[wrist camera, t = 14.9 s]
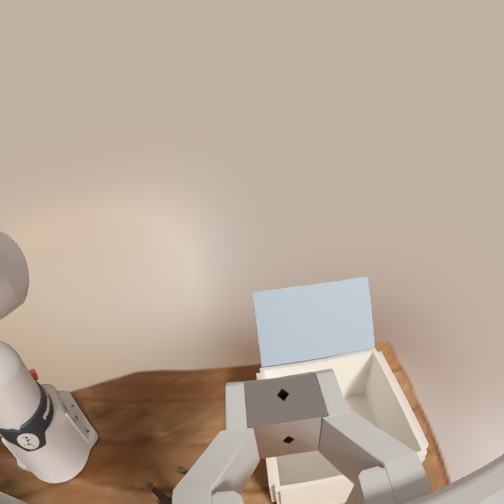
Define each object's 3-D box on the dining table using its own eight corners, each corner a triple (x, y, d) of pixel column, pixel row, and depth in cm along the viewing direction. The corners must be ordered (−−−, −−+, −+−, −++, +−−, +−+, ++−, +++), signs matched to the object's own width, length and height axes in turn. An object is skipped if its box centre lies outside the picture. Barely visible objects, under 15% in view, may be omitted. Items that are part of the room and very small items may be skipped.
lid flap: (367, 276, 45) (366, 276, 46) (252, 292, 45) (252, 292, 46) (374, 347, 44) (373, 346, 45) (261, 366, 44) (261, 365, 44)
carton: (407, 487, 31) (433, 454, 26) (274, 518, 30) (270, 496, 26) (369, 391, 49) (378, 347, 45) (261, 410, 49) (255, 368, 44)
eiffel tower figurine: (185, 568, 23) (148, 553, 18) (127, 533, 28) (80, 503, 22) (236, 492, 35) (220, 454, 30) (179, 467, 40) (151, 423, 34)
